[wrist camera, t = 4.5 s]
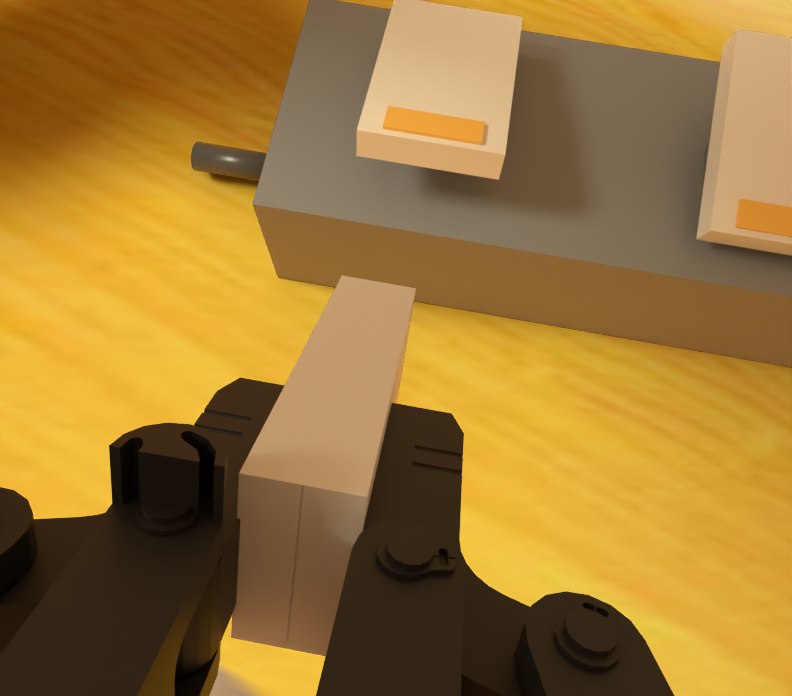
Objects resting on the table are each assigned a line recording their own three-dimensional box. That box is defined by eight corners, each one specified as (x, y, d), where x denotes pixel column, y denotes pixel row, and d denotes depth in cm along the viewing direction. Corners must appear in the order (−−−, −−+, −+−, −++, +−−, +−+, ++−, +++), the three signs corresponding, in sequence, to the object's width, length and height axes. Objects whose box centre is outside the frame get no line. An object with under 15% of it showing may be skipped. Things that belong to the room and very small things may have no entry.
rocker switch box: (173, 258, 39) (112, 166, 30) (227, 84, 42) (187, -43, 34) (818, 371, 37) (951, 310, 29) (815, 182, 41) (932, 76, 32)
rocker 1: (356, 155, 29) (356, 126, 27) (393, 23, 33) (395, -7, 32) (498, 179, 29) (506, 151, 27) (516, 43, 33) (523, 13, 32)
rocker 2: (696, 239, 30) (711, 229, 28) (722, 46, 31) (739, 26, 29) (834, 262, 30) (858, 254, 28) (857, 67, 31) (881, 49, 29)
